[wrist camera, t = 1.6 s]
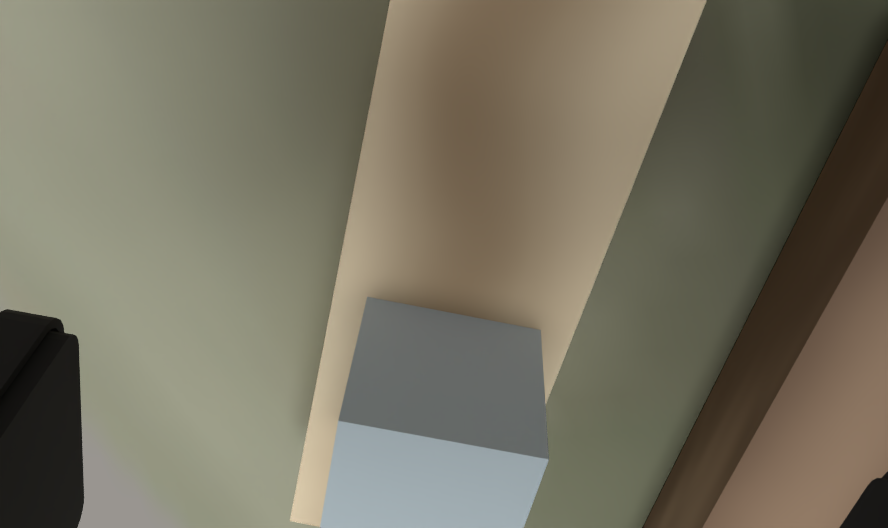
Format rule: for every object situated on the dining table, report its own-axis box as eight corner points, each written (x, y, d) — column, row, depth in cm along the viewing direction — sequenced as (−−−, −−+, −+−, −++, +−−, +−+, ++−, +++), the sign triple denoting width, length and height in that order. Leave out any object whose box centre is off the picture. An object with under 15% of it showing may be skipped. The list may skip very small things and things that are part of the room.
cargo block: (540, 330, 19) (548, 459, 16) (500, 452, 21) (500, 589, 18) (366, 296, 19) (338, 420, 16) (344, 424, 21) (314, 557, 18)
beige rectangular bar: (705, -154, 17) (755, -123, 14) (486, 454, 27) (484, 559, 24) (444, -225, 17) (430, -209, 14) (316, 419, 27) (289, 520, 23)
